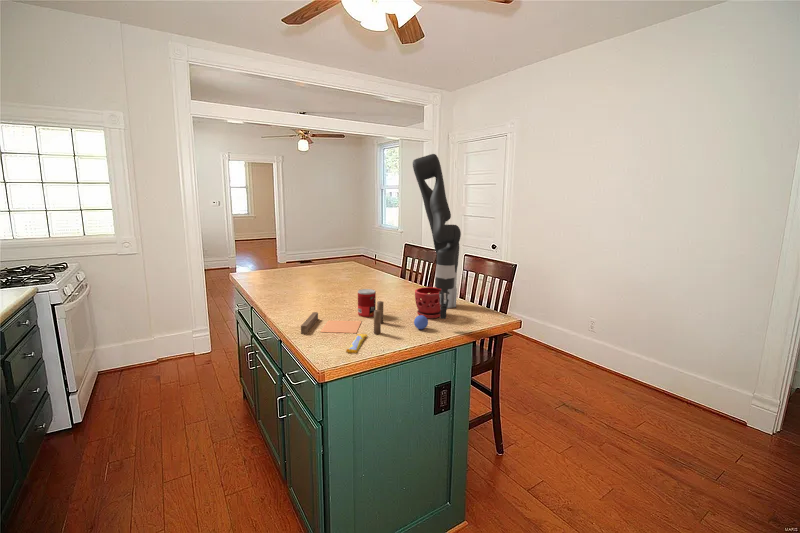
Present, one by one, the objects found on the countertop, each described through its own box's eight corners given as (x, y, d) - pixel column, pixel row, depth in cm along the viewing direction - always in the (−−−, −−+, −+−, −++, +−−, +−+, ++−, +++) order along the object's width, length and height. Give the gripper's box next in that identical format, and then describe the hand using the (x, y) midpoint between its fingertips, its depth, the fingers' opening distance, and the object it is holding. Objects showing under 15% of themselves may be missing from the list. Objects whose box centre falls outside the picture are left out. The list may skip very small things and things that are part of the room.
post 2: (380, 332, 147) (381, 309, 146) (380, 334, 145) (380, 311, 143) (374, 331, 147) (374, 309, 146) (373, 334, 145) (373, 311, 143)
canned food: (373, 318, 165) (373, 293, 163) (355, 316, 166) (355, 292, 164) (377, 313, 172) (377, 289, 170) (360, 311, 174) (360, 288, 172)
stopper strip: (318, 319, 162) (317, 312, 161) (306, 333, 144) (306, 326, 144) (313, 318, 162) (313, 312, 161) (301, 333, 144) (300, 326, 144)
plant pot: (427, 309, 178) (428, 285, 176) (449, 316, 169) (450, 290, 167) (408, 315, 169) (409, 289, 167) (430, 322, 160) (431, 294, 158)
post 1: (383, 321, 160) (383, 301, 158) (382, 323, 157) (383, 302, 155) (377, 321, 160) (377, 301, 158) (376, 323, 157) (376, 302, 156)
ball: (427, 326, 154) (428, 313, 153) (428, 331, 149) (428, 317, 148) (413, 326, 154) (414, 313, 153) (413, 331, 149) (414, 317, 148)
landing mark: (361, 321, 159) (361, 321, 159) (356, 333, 146) (356, 332, 145) (328, 320, 160) (328, 320, 160) (320, 332, 146) (320, 331, 146)
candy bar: (357, 355, 126) (357, 350, 126) (344, 354, 127) (344, 349, 126) (367, 337, 143) (367, 333, 142) (356, 337, 143) (356, 332, 143)
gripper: (434, 272, 154) (433, 313, 157) (436, 278, 141) (434, 323, 144) (453, 273, 154) (451, 314, 157) (456, 279, 141) (454, 324, 144)
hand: (443, 318), depth 150 cm, fingers closed
